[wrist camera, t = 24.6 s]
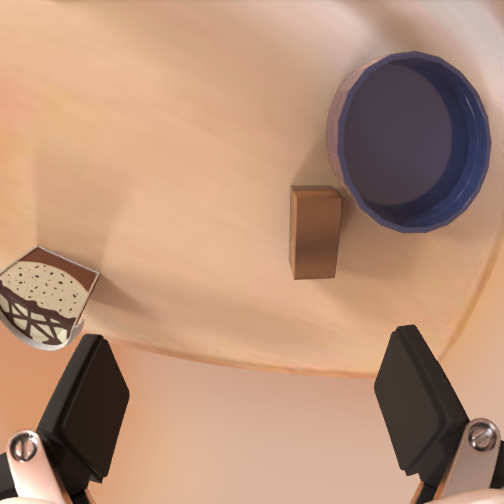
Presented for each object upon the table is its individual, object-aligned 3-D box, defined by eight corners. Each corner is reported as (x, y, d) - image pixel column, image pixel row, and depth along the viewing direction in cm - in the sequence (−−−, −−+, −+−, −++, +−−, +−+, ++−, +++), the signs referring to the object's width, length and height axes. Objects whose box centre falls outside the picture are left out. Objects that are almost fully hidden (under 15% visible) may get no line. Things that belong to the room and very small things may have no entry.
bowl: (325, 45, 23) (336, 37, 20) (471, 74, 23) (493, 75, 20) (322, 218, 31) (332, 234, 28) (457, 219, 31) (476, 232, 28)
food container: (27, 279, 34) (-12, 324, 25) (28, 240, 31) (-19, 282, 23) (104, 314, 36) (75, 370, 27) (111, 277, 34) (76, 333, 25)
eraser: (290, 185, 30) (296, 198, 26) (331, 185, 30) (342, 198, 26) (288, 260, 33) (293, 280, 30) (325, 258, 33) (334, 278, 30)
